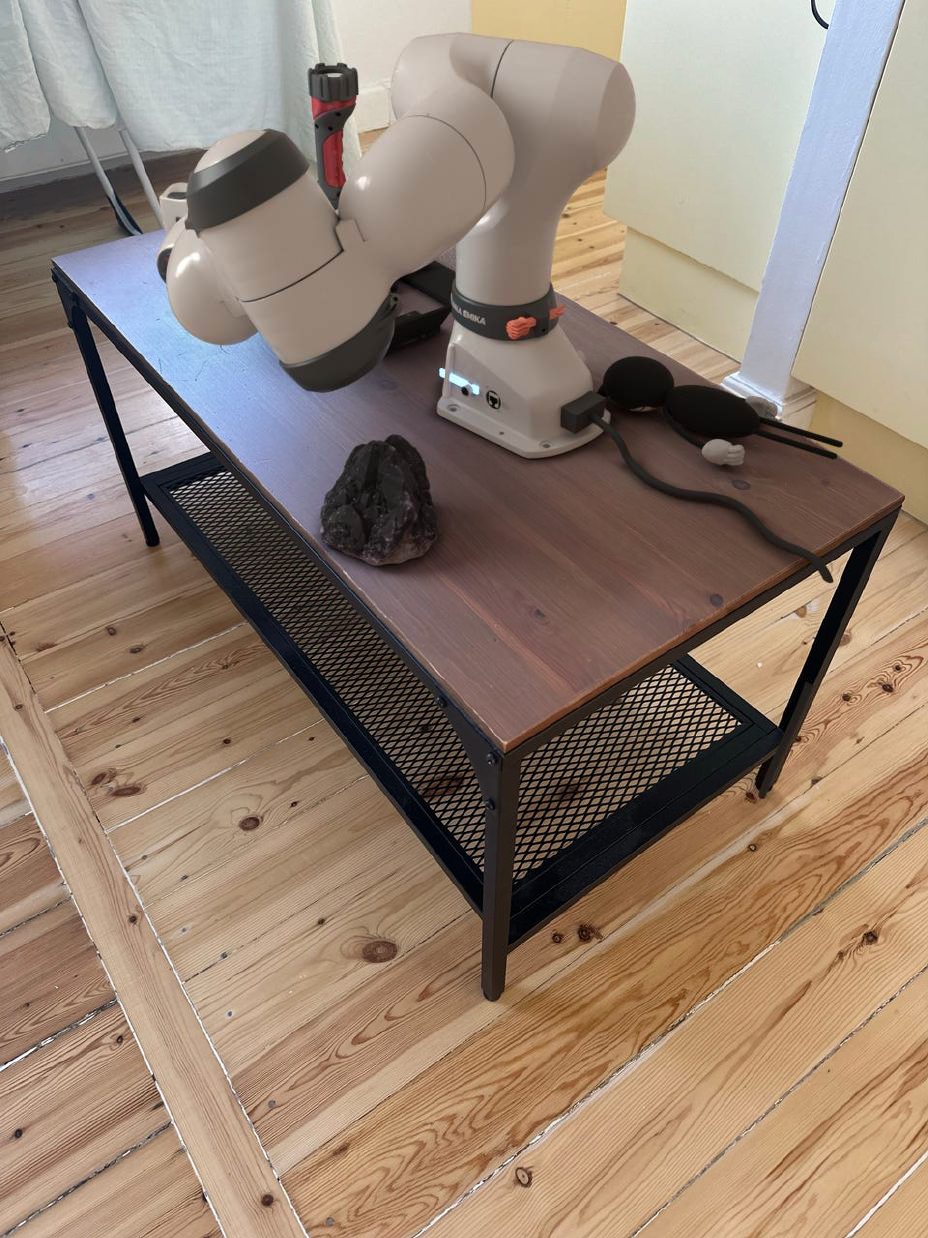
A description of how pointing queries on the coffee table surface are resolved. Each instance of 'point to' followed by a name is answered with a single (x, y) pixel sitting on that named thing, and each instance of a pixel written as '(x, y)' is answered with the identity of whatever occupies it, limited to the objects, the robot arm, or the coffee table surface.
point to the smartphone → (434, 281)
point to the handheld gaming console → (417, 326)
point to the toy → (700, 409)
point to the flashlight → (331, 121)
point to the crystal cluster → (381, 504)
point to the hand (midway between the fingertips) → (256, 186)
